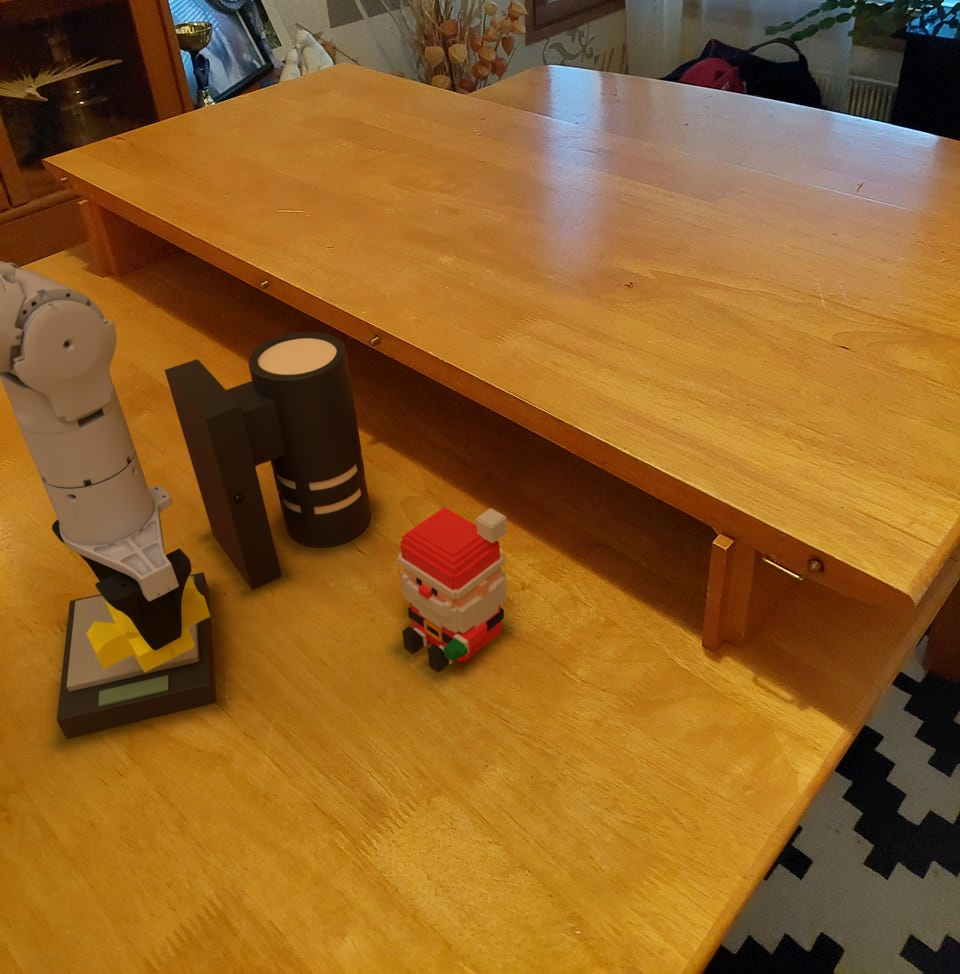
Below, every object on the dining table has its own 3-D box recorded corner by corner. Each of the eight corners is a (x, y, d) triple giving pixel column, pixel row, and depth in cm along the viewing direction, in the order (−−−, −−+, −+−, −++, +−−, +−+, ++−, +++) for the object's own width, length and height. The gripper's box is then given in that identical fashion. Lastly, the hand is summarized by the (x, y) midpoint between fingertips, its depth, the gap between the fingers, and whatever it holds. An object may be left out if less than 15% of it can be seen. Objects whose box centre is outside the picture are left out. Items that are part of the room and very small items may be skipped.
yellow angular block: (86, 639, 67) (50, 559, 62) (190, 589, 70) (164, 510, 66) (114, 687, 63) (79, 606, 58) (222, 632, 67) (197, 551, 62)
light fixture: (391, 529, 86) (367, 361, 75) (253, 592, 80) (206, 419, 69) (342, 479, 92) (314, 318, 82) (212, 534, 87) (163, 368, 76)
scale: (216, 703, 71) (208, 678, 69) (65, 739, 68) (53, 714, 67) (209, 590, 81) (201, 566, 79) (77, 619, 79) (67, 595, 77)
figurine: (385, 635, 75) (367, 521, 68) (447, 589, 79) (436, 476, 72) (460, 688, 70) (449, 572, 63) (522, 637, 74) (518, 522, 67)
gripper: (200, 484, 55) (246, 643, 63) (104, 393, 64) (155, 542, 72) (84, 538, 51) (149, 699, 59) (0, 433, 60) (66, 585, 69)
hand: (146, 616), depth 66 cm, fingers closed on yellow angular block, 6 cm apart
